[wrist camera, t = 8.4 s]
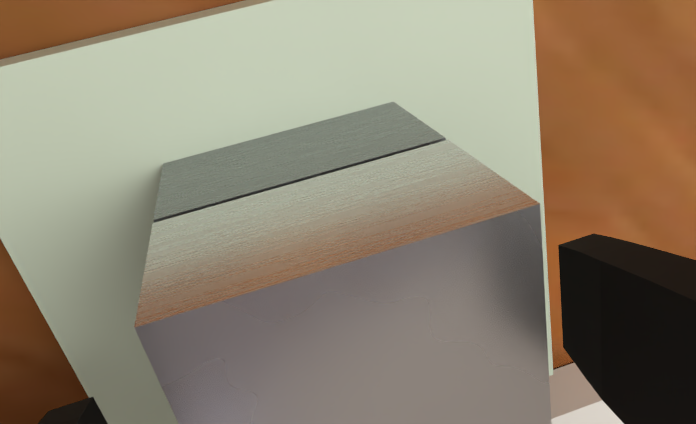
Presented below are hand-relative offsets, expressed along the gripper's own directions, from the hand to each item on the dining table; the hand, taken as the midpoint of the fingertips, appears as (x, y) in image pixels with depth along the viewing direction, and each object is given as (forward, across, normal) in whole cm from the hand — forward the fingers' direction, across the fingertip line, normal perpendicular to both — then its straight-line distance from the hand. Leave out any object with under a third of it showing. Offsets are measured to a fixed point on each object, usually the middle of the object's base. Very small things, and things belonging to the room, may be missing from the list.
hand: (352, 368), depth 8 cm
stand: (+4, 0, 0) cm, 5 cm away
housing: (+3, 0, 0) cm, 3 cm away
